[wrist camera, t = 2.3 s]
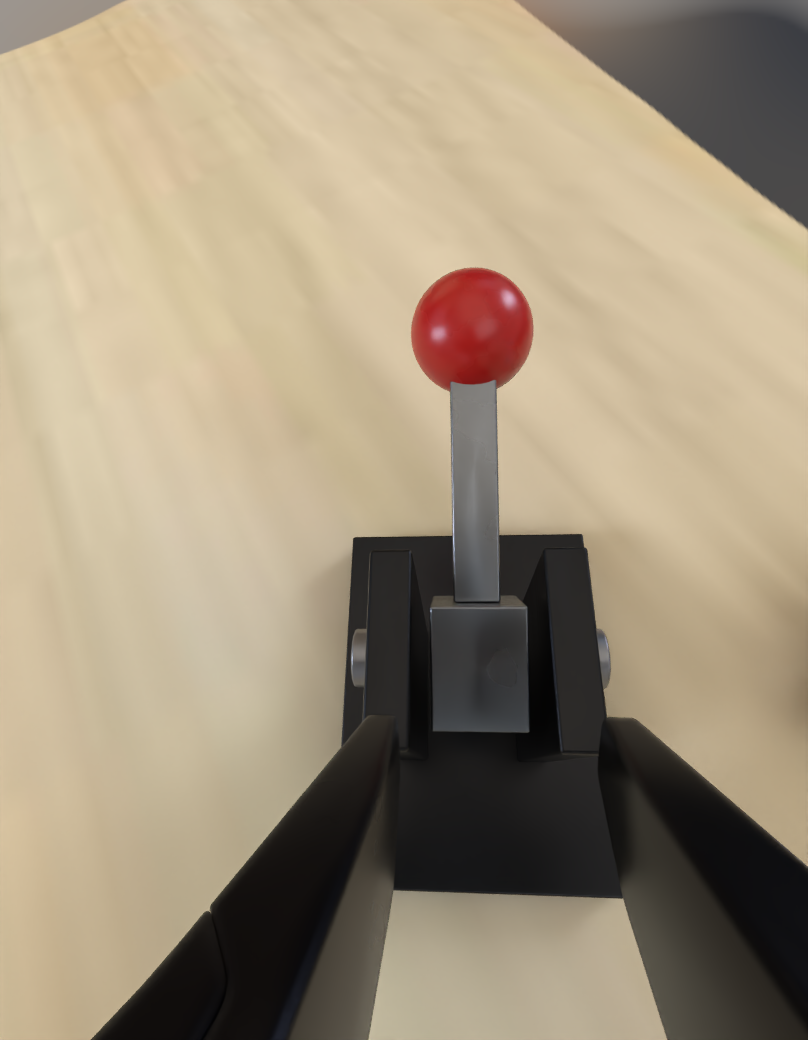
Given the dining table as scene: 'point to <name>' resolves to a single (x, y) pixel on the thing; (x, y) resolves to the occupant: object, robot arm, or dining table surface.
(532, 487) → the dining table surface
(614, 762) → the robot arm
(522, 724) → the switch lever
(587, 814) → the switch bracket
